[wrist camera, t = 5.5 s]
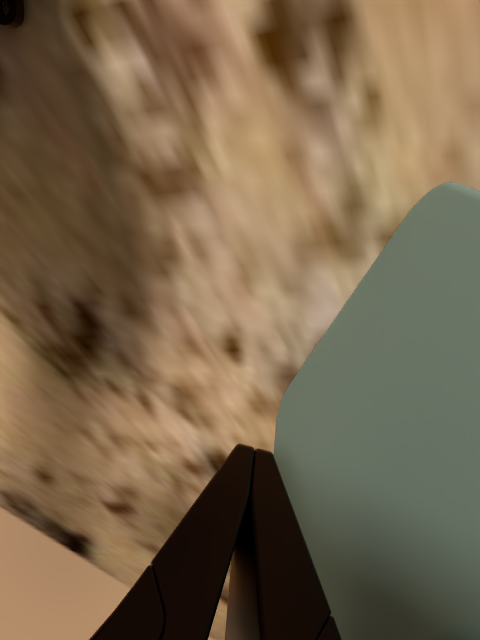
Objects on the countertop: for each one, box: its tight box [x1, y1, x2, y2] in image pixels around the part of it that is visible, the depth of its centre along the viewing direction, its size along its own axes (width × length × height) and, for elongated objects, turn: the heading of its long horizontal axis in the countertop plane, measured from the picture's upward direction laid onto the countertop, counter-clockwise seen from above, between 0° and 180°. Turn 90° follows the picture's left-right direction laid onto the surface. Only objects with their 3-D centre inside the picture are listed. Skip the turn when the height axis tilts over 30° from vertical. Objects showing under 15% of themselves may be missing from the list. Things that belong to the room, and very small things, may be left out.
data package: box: [274, 182, 480, 640], centre depth 11 cm, size 12×4×12 cm, turn 155°
